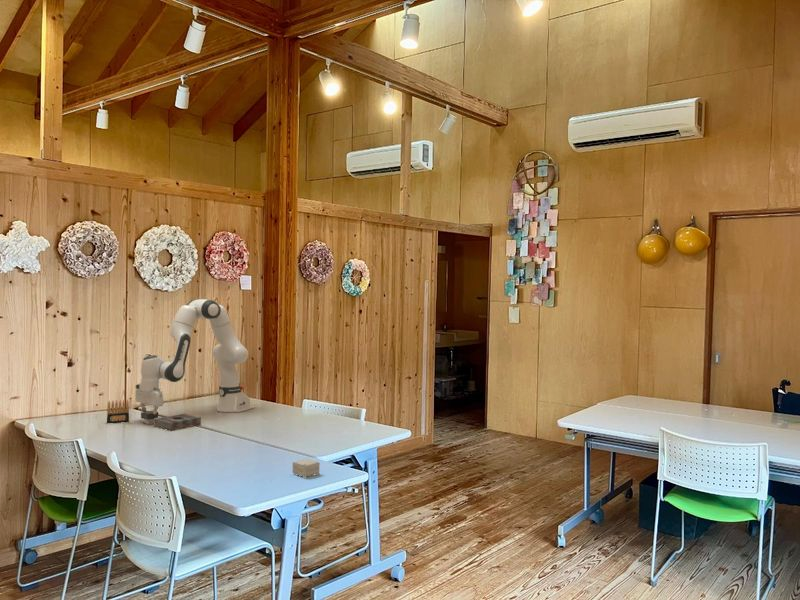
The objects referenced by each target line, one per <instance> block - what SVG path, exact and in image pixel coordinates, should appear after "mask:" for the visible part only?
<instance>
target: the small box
mask: <svg viewBox="0 0 800 600" xmlns="http://www.w3.org/2000/svg"><path fill="white" fill-rule="evenodd" d="M320 465H321V464H320V462H319V461H318V460H313V459H310V458H303V459H301V460H300V459H299V460H297V461H292V473H294V474H297V475H300V476H303V477H307V476H311V475H314V474H318V473H319V474H320ZM294 474H293V475H294ZM319 474H318V475H319ZM297 475H296V476H297ZM300 476H299V477H300ZM303 477H302V478H303ZM311 477H312V476H311ZM307 478H308V477H307Z"/></svg>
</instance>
